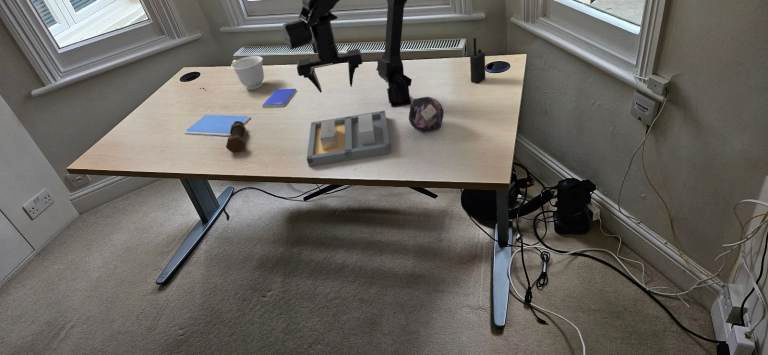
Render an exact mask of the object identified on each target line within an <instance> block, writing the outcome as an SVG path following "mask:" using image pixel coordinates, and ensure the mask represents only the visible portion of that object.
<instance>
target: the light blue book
mask: <svg viewBox="0 0 768 355" xmlns="http://www.w3.org/2000/svg"><path fill="white" fill-rule="evenodd" d="M250 119H251V116H248V115H229V114H228V115H227V114H226V115H225V114H224V115H223V114H205V115H203V116H202V117H201V118H200V119H198V120H197V121H195V123H193V124H192V125H191V126H189V127H188V128H186V130H184V134H185V135H204V136H220V137H221V136H223V137H232V135H231V134H230V130H231V126H232V124H234V122H236V121H240V122H243V125H244V126H245V124H246V123H247V122H248V121H249V120H250Z"/></svg>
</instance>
